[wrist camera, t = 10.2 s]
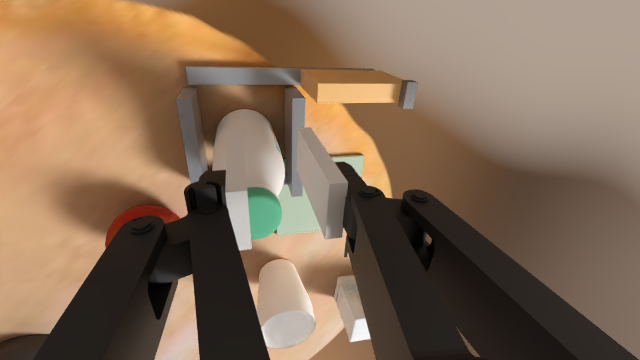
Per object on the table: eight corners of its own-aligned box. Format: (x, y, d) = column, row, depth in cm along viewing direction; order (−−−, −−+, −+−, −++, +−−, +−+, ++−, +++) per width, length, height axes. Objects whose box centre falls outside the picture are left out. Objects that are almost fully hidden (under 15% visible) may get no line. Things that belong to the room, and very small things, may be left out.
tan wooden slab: (300, 88, 39) (319, 110, 30) (300, 65, 37) (321, 81, 29) (377, 88, 42) (415, 108, 33) (380, 67, 40) (421, 82, 32)
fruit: (108, 236, 43) (78, 290, 35) (129, 184, 41) (102, 230, 32) (175, 253, 48) (163, 304, 39) (199, 207, 45) (192, 252, 36)
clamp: (199, 183, 43) (194, 205, 38) (179, 65, 35) (171, 74, 30) (359, 171, 49) (373, 189, 44) (372, 68, 41) (392, 76, 36)
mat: (276, 234, 51) (277, 236, 50) (275, 159, 44) (275, 161, 44) (353, 224, 54) (354, 226, 54) (362, 154, 48) (364, 156, 47)
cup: (266, 248, 52) (274, 305, 42) (309, 259, 56) (327, 314, 46) (244, 284, 55) (247, 346, 45) (287, 293, 59) (299, 351, 48)
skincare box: (384, 270, 63) (409, 312, 54) (377, 291, 66) (400, 335, 57) (337, 275, 60) (356, 320, 51) (332, 297, 63) (349, 344, 54)
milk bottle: (205, 143, 40) (186, 236, 24) (235, 96, 38) (238, 161, 22) (254, 169, 44) (268, 266, 27) (284, 127, 42) (318, 204, 25)
